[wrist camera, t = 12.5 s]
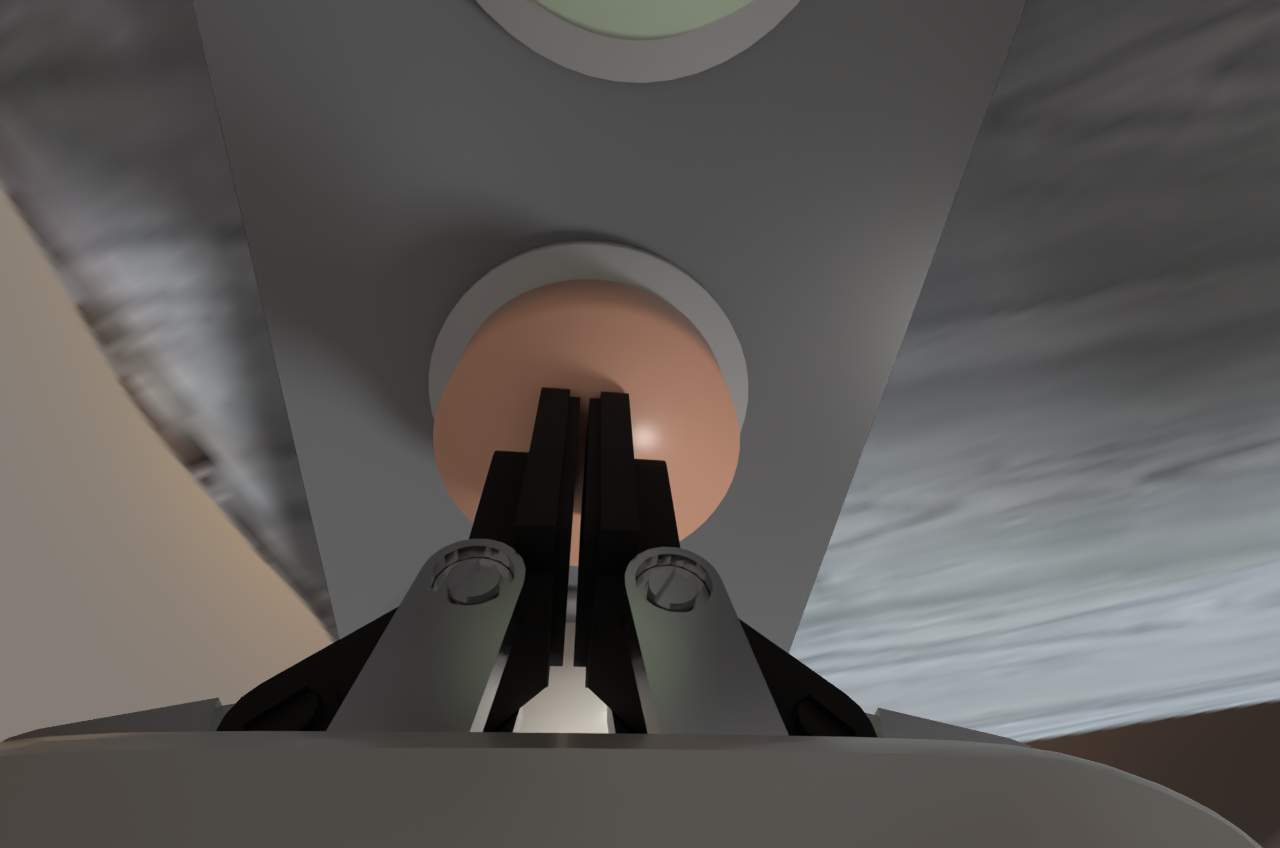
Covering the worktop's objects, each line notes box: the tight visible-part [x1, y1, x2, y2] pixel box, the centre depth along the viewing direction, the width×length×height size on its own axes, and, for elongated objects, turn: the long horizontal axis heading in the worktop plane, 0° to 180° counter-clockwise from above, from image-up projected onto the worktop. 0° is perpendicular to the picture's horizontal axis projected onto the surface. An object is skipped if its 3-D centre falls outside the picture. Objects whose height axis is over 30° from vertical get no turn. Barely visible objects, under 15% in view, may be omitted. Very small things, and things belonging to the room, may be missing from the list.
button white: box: [519, 622, 609, 733], centre depth 17 cm, size 6×6×2 cm
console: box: [192, 0, 1027, 653], centre depth 15 cm, size 14×30×4 cm, turn 174°
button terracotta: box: [433, 279, 740, 566], centre depth 12 cm, size 6×6×2 cm
